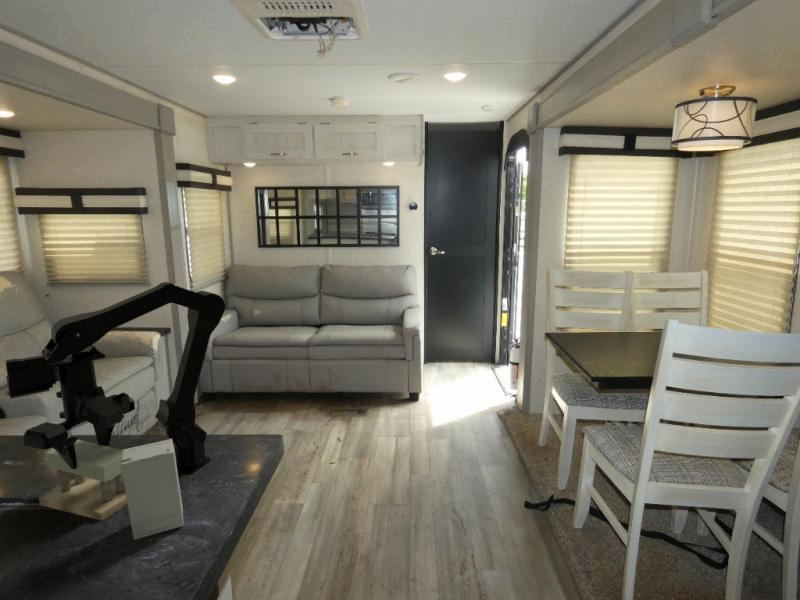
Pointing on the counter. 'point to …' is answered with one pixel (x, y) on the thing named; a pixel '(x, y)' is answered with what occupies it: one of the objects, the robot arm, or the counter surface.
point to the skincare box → (152, 488)
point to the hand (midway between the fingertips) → (89, 460)
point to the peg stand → (87, 496)
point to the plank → (90, 461)
